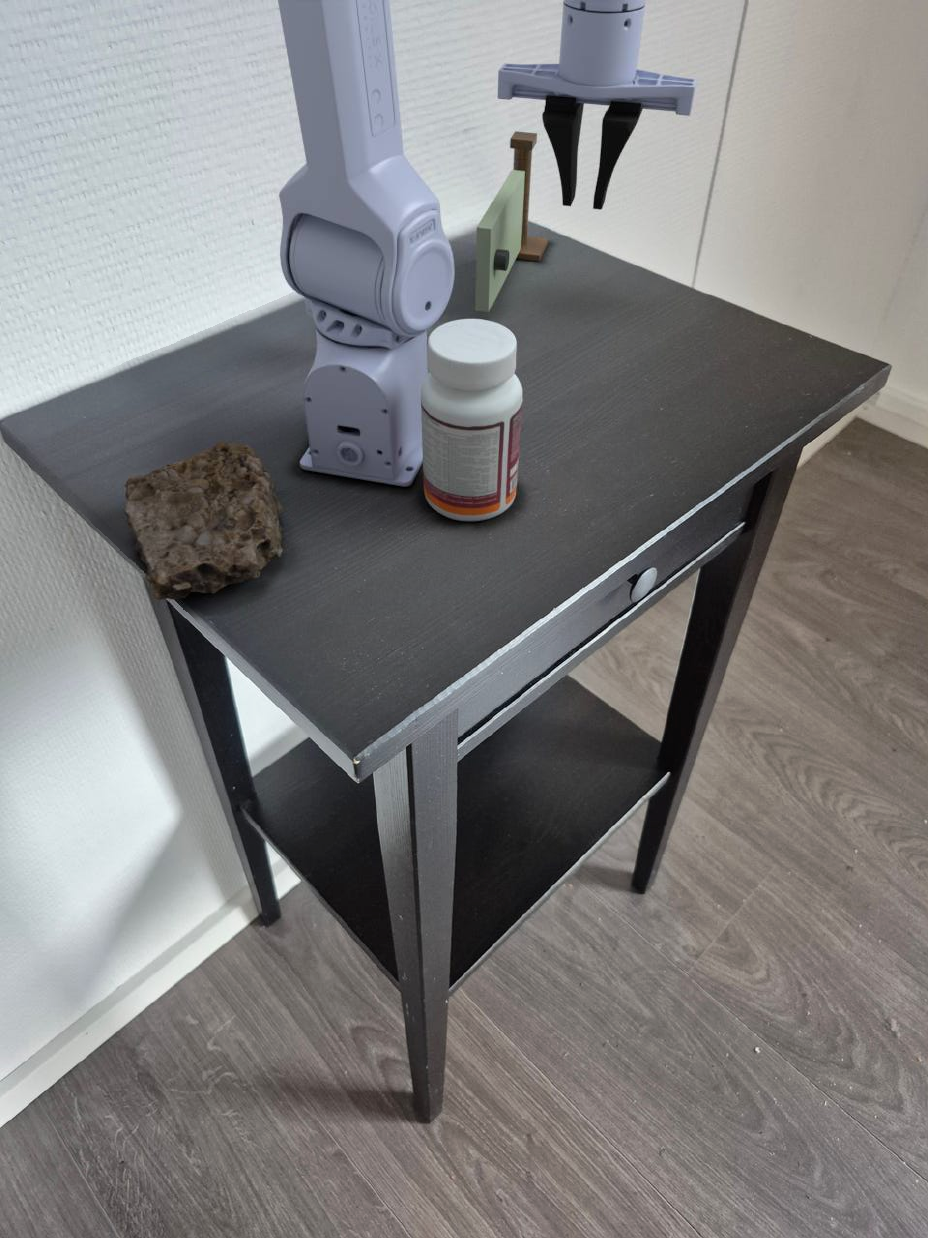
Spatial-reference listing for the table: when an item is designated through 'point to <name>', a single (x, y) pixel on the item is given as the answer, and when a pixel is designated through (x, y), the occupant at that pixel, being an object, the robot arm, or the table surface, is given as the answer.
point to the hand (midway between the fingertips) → (583, 202)
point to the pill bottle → (471, 420)
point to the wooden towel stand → (526, 193)
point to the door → (499, 240)
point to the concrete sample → (205, 521)
